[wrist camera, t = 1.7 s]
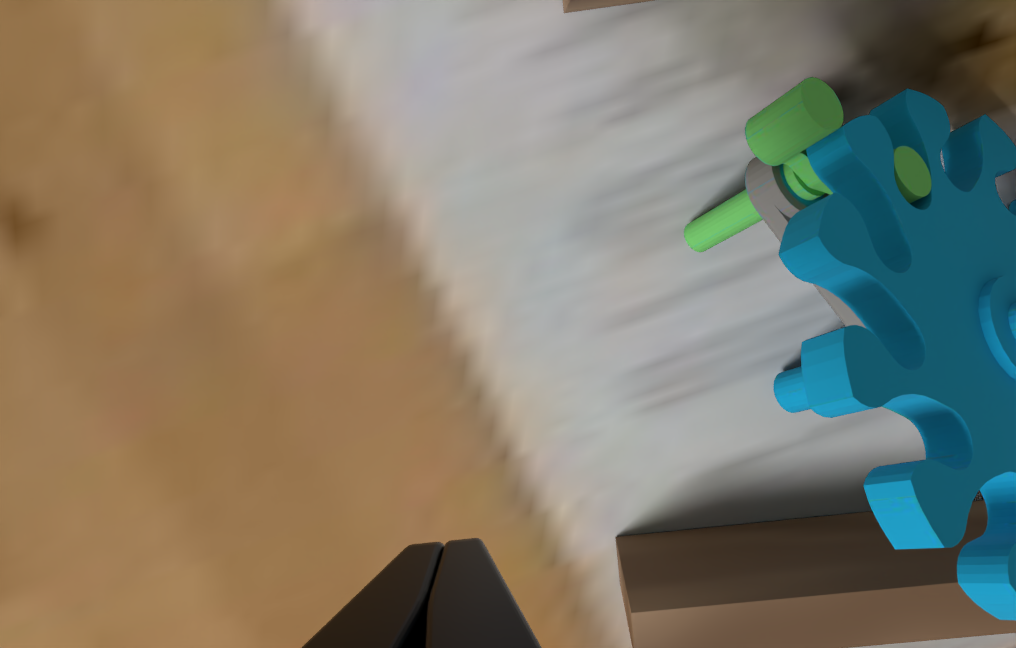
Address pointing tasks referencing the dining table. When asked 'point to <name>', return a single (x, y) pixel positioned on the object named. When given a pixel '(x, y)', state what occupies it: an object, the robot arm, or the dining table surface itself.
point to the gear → (901, 302)
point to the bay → (793, 578)
